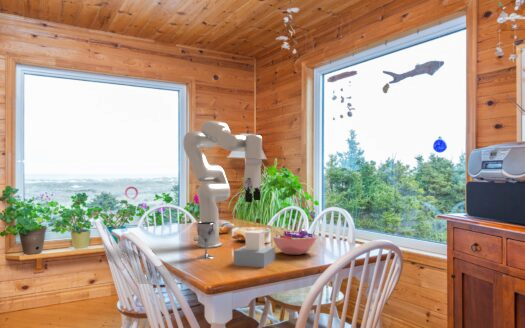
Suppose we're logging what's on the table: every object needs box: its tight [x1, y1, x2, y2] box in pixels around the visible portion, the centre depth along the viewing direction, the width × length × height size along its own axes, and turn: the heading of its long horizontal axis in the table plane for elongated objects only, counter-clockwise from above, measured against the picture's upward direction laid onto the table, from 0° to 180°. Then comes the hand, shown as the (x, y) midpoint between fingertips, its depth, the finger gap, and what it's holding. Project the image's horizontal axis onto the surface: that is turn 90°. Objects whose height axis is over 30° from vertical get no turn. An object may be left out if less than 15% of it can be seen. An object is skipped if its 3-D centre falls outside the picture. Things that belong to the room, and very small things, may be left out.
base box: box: [233, 244, 276, 269], centre depth 158 cm, size 13×13×6 cm
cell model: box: [272, 228, 318, 256], centre depth 173 cm, size 17×20×11 cm
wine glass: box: [196, 221, 215, 260], centre depth 168 cm, size 8×8×15 cm
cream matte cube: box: [245, 229, 266, 251], centre depth 157 cm, size 6×6×7 cm
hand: (252, 201), depth 170 cm, fingers open, 9 cm apart
